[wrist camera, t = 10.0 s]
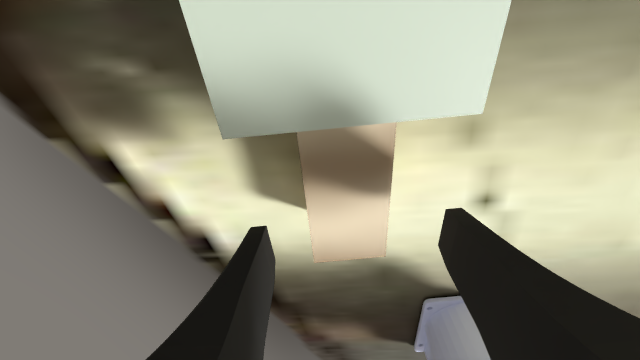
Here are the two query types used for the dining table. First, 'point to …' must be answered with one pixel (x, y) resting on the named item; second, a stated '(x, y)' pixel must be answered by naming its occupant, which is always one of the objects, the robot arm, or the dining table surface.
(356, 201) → the peg
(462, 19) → the block
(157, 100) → the dining table surface
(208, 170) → the dining table surface
